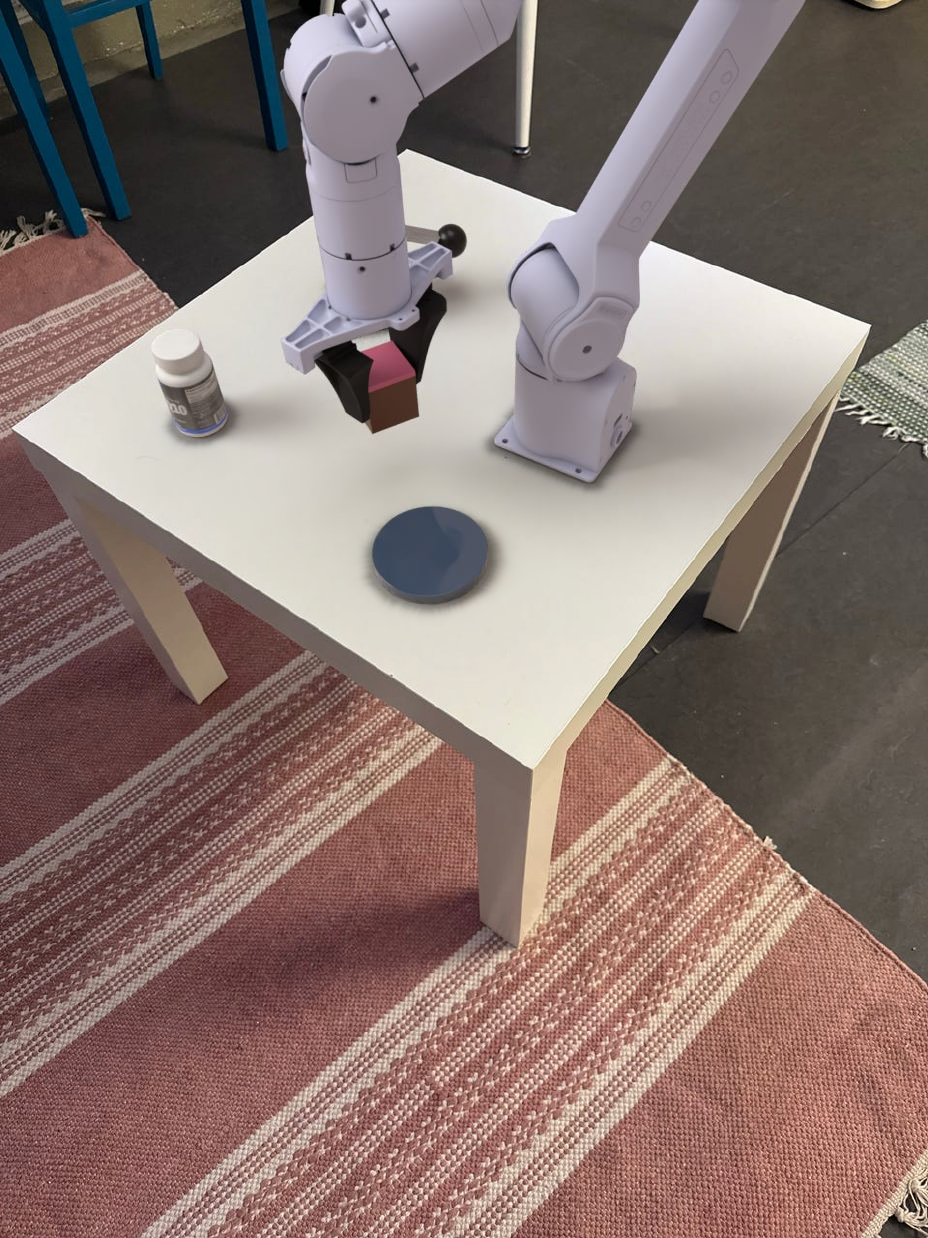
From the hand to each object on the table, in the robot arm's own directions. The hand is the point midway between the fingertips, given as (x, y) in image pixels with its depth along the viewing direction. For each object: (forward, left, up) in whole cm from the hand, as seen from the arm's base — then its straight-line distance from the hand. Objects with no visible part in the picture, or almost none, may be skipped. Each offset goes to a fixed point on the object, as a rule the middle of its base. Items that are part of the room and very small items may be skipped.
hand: (383, 396), depth 70 cm
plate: (-8, +6, -8) cm, 13 cm away
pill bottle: (+18, +3, -9) cm, 21 cm away
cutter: (+12, -20, -2) cm, 23 cm away
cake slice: (0, 0, -1) cm, 1 cm away
